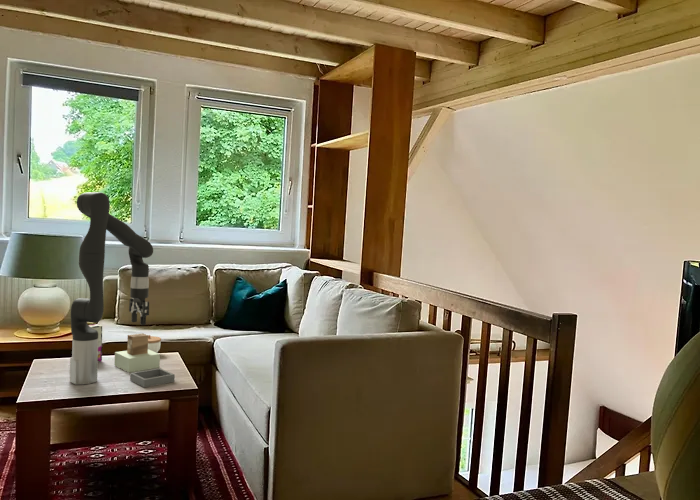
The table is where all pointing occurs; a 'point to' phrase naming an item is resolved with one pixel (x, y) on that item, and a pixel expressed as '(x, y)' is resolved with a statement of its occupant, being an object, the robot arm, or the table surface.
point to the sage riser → (137, 361)
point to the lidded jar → (154, 343)
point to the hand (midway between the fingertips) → (138, 323)
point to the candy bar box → (99, 329)
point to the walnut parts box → (137, 344)
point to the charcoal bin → (162, 379)
